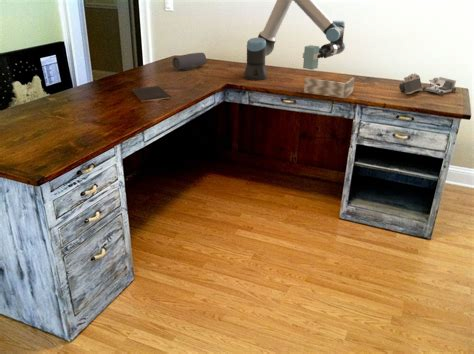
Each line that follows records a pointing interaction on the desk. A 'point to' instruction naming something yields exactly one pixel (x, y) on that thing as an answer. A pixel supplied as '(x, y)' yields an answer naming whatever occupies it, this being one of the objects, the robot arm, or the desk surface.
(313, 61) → the teal block
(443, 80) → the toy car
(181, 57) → the bluetooth speaker
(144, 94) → the hardcover book
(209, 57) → the desk surface
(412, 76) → the camera
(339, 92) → the arena
